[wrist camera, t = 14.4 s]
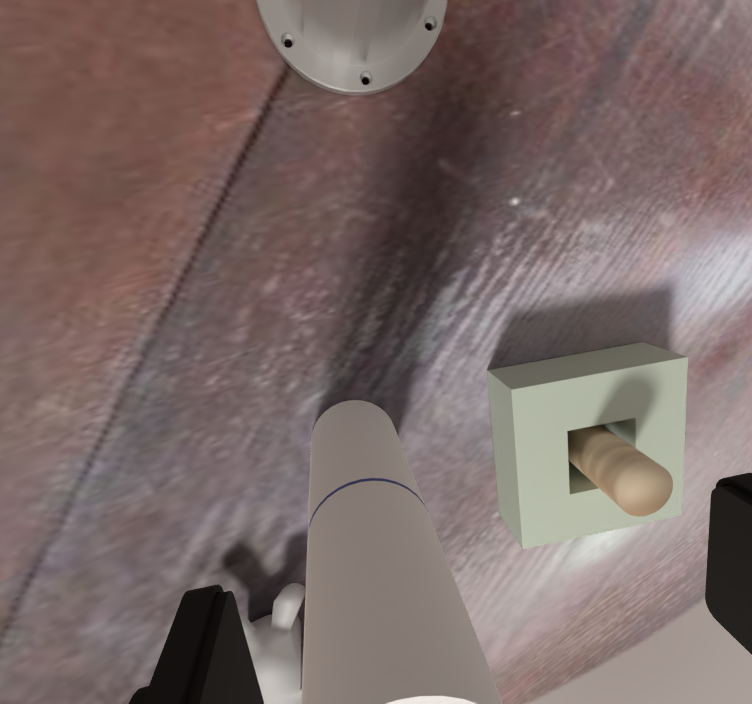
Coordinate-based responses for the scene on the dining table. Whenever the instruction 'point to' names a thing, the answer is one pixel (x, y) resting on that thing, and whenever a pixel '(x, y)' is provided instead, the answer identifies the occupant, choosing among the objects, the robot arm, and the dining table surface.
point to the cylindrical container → (380, 578)
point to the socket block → (574, 411)
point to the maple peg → (620, 470)
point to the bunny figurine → (278, 648)
